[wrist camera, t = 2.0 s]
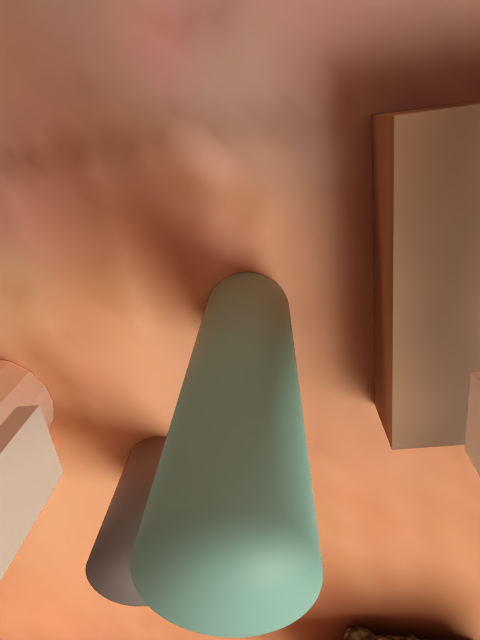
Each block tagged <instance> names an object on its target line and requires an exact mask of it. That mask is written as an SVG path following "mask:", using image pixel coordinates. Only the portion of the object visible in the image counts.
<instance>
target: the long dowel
mask: <svg viewBox="0 0 480 640" xmlns="http://www.w3.org/2000/svg"><path fill="white" fill-rule="evenodd" d="M130 573H131V577H132V581H133V584H134V586H135V588H136V590H137V592H138V593H139V595H140V597H141V598H142V599H143V600H144V602H145V603H146V604H147V605H148V606H149V607H150V608H151V609H152V610H153V611H155V612H156V613H157V614H159V615H160V616H161V617H163V618H164V619H166V620H168V621H170V622H171V623H173V624H175V625H178V626H180V627H182V628H185V629H187V630H190V631H193V632H197V633H201V634H205V635H210V636H217V637H237V638H238V637H251V636H257V635H262V634H266V633H270V632H273V631H276V630H279V629H281V628H284V627H286V626H288V625H290V624H291V623H293V622H295V621H296V620H298V619H299V618H300V617H302V616H303V615H304V614H305V613H306V612H307V611H308V610H309V609H310V608H311V607H312V606H313V604H314V603H315V601H316V600H317V598H318V596H319V594H320V591H321V588H322V583H323V568H322V560H321V552H320V545H319V537H318V529H317V521H316V513H315V506H314V498H313V490H312V482H311V474H310V467H309V459H308V451H307V443H306V436H305V428H304V420H303V412H302V404H301V397H300V389H299V381H298V373H297V365H296V358H295V350H294V342H293V334H292V327H291V319H290V311H289V304H288V300H287V297H286V295H285V293H284V292H283V290H282V289H281V287H280V286H279V285H278V284H277V283H276V282H274V281H273V280H272V279H270V278H268V277H266V276H264V275H261V274H258V273H252V272H242V273H237V274H234V275H231V276H229V277H226V278H225V279H223V280H222V281H221V282H219V283H218V284H217V285H216V286H215V288H214V289H213V290H212V292H211V294H210V296H209V299H208V302H207V305H206V308H205V312H204V315H203V318H202V322H201V325H200V328H199V332H198V335H197V338H196V342H195V345H194V348H193V352H192V355H191V358H190V361H189V365H188V368H187V371H186V375H185V378H184V381H183V385H182V388H181V391H180V395H179V398H178V401H177V405H176V408H175V411H174V415H173V418H172V421H171V425H170V428H169V431H168V435H167V438H166V441H165V444H164V448H163V451H162V454H161V458H160V461H159V464H158V468H157V471H156V474H155V478H154V481H153V484H152V488H151V491H150V494H149V498H148V501H147V504H146V508H145V511H144V514H143V518H142V521H141V524H140V527H139V531H138V534H137V537H136V541H135V544H134V547H133V551H132V554H131V560H130Z"/></svg>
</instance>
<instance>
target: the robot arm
mask: <svg viewBox="0 0 480 640" xmlns="http://www.w3.org/2000/svg"><path fill="white" fill-rule="evenodd" d="M465 451H466V453H467V455H468V456H469V458H470V460H471V462H472V463H473V465H474V467H475V468H476V470H477V472H478V474H479V475H480V372H473V373H471V378H470V389H469V401H468V413H467V425H466V437H465ZM63 473H64V472H63V469H62V467H61V464H60V461H59V458H58V455H57V453H56V450H55V447H54V444H53V442H52V439H51V436H50V433H49V430H48V428H47V425H46V422H45V419H44V416H43V414H42V411H41V408H40V405H31V406H18V407H16V408H15V409H14V410H13V411H12V413H11V414H10V415H9V416H8V417H7V418H6V419H5V421H4V422H3V423H2V424H1V425H0V581H1V579H2V577H3V576H4V574H5V572H6V570H7V569H8V567H9V565H10V564H11V562H12V560H13V558H14V557H15V555H16V553H17V552H18V550H19V548H20V546H21V545H22V543H23V541H24V539H25V538H26V536H27V534H28V533H29V531H30V529H31V527H32V526H33V524H34V522H35V521H36V519H37V517H38V515H39V514H40V512H41V510H42V509H43V507H44V505H45V503H46V502H47V500H48V498H49V497H50V495H51V493H52V491H53V490H54V488H55V486H56V485H57V483H58V481H59V479H60V478H61V476H62V474H63Z"/></svg>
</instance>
